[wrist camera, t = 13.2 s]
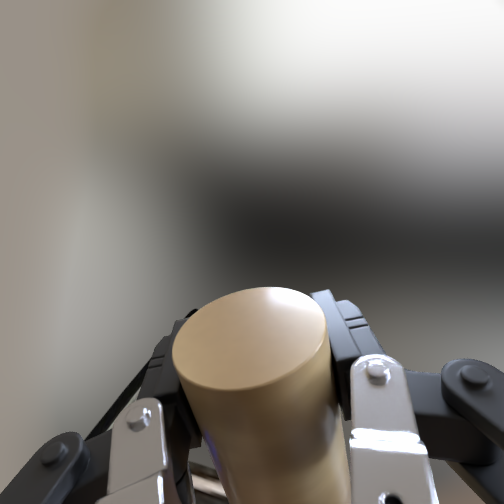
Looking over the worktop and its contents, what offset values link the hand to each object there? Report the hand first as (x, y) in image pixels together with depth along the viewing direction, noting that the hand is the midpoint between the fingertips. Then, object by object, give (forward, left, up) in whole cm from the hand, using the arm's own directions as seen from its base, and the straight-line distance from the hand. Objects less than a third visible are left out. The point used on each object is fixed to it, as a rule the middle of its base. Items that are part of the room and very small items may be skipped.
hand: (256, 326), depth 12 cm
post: (0, -3, -24) cm, 24 cm away
